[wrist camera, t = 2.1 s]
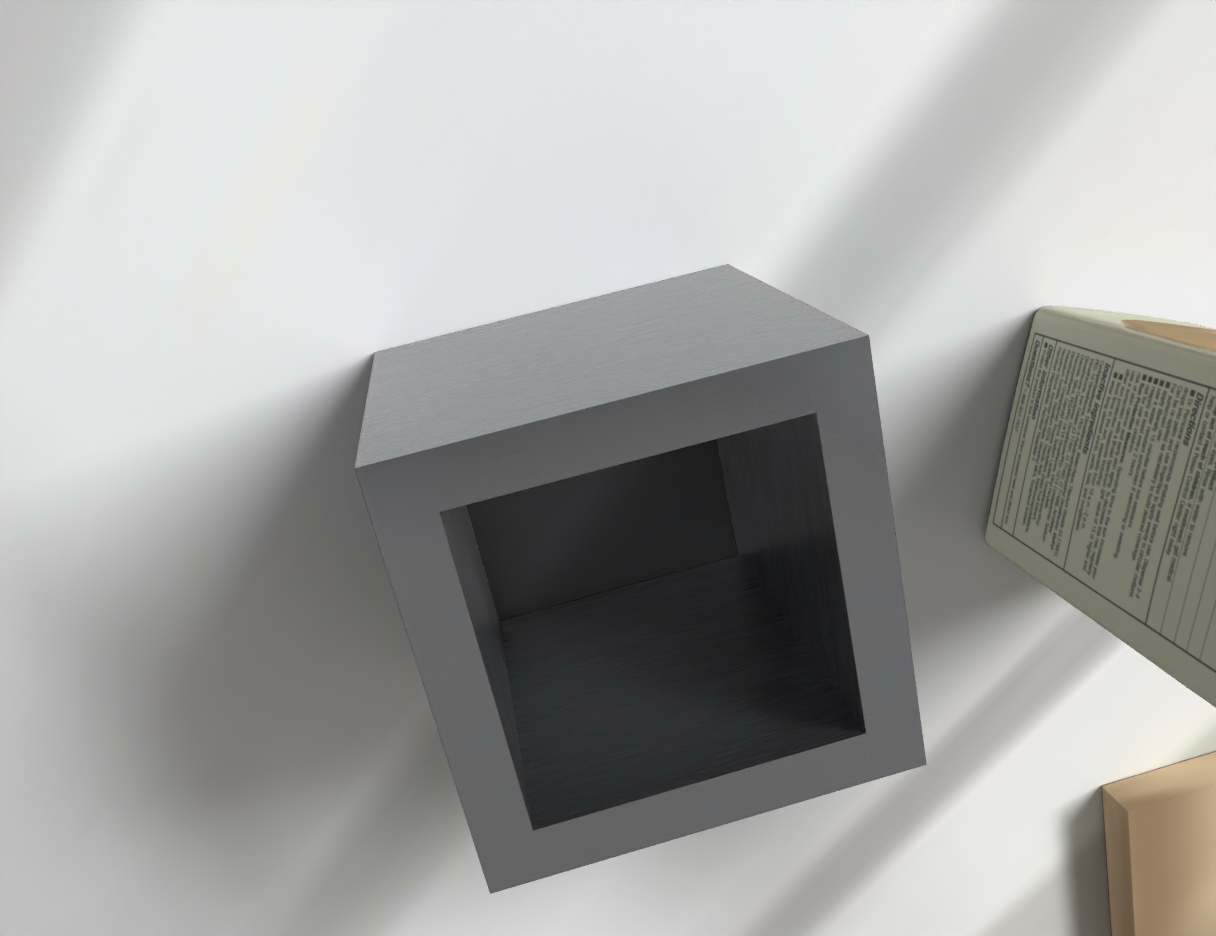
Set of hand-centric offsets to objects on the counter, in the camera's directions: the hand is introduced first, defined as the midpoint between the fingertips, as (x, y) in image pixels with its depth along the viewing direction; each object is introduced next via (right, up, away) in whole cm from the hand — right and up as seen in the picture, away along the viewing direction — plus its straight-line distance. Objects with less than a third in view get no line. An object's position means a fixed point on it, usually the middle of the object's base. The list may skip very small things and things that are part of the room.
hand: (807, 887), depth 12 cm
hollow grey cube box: (-3, +4, +13) cm, 14 cm away
